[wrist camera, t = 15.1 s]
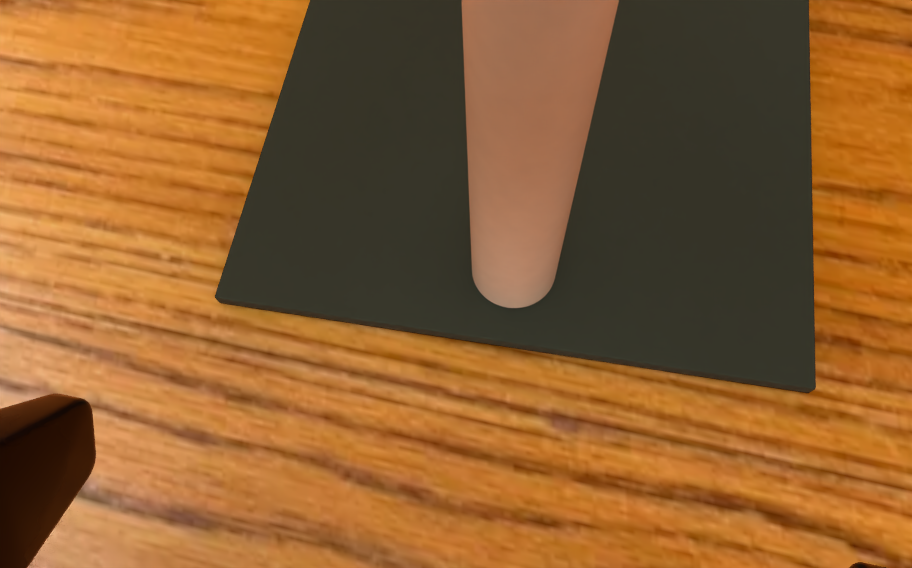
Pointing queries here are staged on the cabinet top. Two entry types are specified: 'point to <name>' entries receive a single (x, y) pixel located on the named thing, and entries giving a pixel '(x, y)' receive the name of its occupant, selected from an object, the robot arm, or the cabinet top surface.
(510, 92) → the marker
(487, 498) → the cabinet top surface
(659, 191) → the mat
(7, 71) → the cabinet top surface
